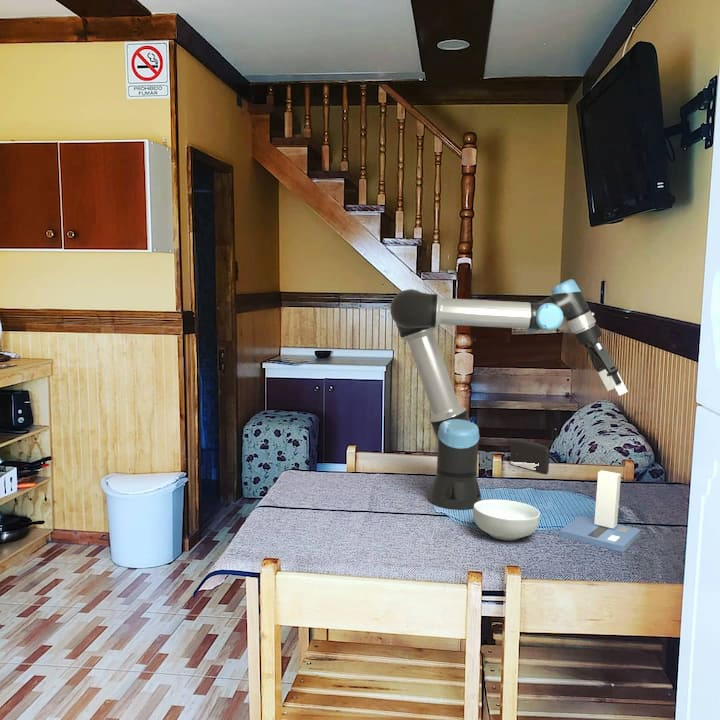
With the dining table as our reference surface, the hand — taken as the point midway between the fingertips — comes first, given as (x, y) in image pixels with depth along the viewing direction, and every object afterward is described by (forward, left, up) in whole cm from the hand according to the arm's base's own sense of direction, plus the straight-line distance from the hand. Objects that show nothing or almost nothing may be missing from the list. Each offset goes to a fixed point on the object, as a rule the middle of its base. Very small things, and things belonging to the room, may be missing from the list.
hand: (617, 391), depth 205 cm
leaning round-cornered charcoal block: (-2, +37, -34) cm, 50 cm away
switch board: (-25, -24, -34) cm, 48 cm away
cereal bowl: (-49, -16, -34) cm, 62 cm away
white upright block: (-22, -22, -32) cm, 44 cm away
